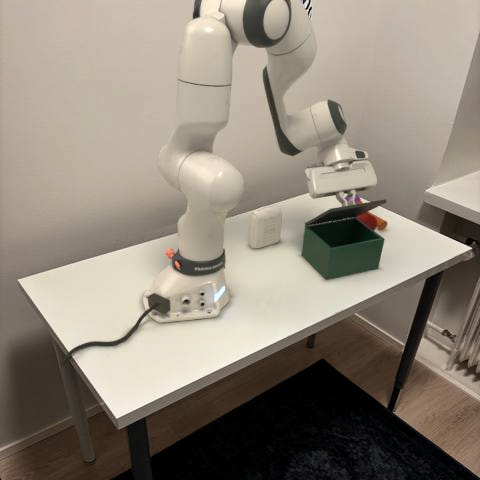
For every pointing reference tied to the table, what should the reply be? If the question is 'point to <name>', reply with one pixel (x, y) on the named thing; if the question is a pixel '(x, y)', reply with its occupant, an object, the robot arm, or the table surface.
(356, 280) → the table surface
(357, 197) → the kendama
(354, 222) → the bin
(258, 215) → the photo printer
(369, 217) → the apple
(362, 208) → the bin lid
